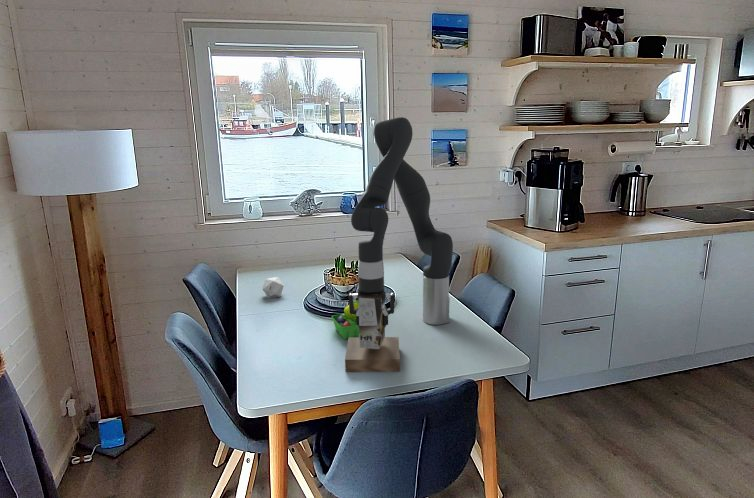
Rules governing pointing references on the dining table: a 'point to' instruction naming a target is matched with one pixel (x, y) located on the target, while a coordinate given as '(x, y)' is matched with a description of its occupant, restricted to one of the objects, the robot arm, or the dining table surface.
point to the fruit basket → (347, 323)
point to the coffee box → (371, 321)
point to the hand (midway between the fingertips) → (372, 326)
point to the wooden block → (373, 356)
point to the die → (273, 287)
